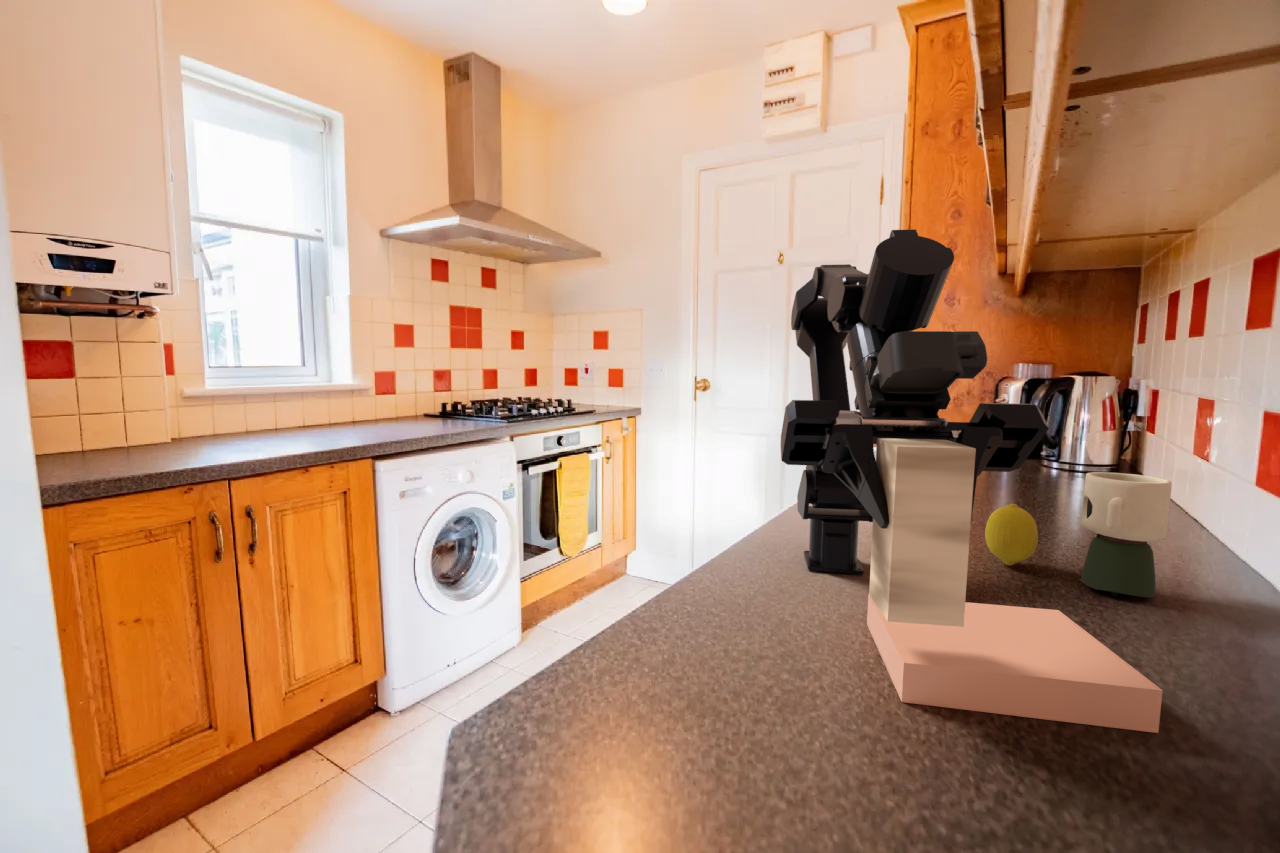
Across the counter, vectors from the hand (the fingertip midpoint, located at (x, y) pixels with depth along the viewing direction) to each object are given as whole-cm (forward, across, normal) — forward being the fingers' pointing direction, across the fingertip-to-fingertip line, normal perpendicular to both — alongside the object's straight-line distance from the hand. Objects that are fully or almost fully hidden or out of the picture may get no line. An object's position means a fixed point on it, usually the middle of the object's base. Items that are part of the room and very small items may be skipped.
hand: (925, 527), depth 39 cm
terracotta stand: (+5, +7, +13) cm, 16 cm away
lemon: (-14, +22, +33) cm, 42 cm away
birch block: (+4, 0, +6) cm, 7 cm away
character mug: (-9, +30, +28) cm, 41 cm away
